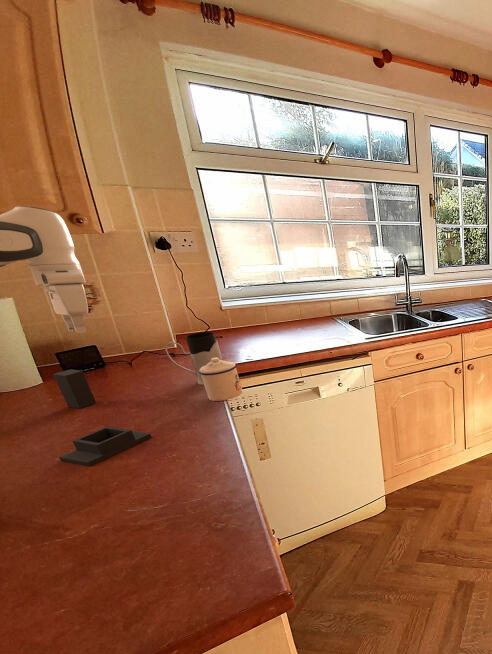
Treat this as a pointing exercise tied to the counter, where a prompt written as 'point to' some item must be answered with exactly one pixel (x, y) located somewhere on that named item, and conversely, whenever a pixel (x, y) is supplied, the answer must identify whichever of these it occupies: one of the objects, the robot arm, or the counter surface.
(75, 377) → the dark grey rectangular block
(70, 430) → the counter surface
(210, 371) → the teacup with lid
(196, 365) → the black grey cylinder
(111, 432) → the base pad
